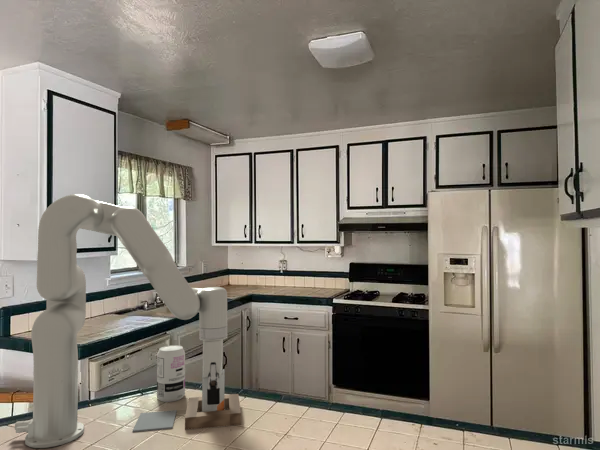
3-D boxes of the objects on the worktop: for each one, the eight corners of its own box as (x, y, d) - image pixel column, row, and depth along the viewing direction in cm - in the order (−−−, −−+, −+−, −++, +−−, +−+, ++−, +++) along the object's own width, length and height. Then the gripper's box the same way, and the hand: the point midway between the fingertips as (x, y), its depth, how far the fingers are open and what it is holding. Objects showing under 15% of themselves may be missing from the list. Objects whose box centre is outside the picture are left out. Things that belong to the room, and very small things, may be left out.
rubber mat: (132, 432, 105) (132, 430, 105) (140, 414, 116) (140, 413, 116) (172, 428, 107) (172, 426, 107) (176, 411, 117) (176, 410, 117)
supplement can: (164, 392, 133) (164, 344, 133) (189, 393, 132) (189, 345, 132) (151, 402, 125) (152, 351, 125) (178, 403, 124) (178, 351, 124)
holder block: (184, 429, 106) (184, 417, 106) (188, 408, 120) (188, 397, 120) (240, 424, 108) (240, 412, 109) (238, 404, 122) (238, 393, 122)
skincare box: (216, 421, 111) (216, 375, 111) (201, 420, 111) (201, 374, 112) (225, 412, 117) (225, 368, 117) (210, 411, 117) (210, 367, 118)
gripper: (200, 327, 123) (200, 389, 122) (197, 340, 106) (197, 412, 105) (226, 326, 124) (227, 387, 123) (227, 339, 107) (228, 410, 106)
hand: (213, 398), depth 114 cm, fingers closed on skincare box, 7 cm apart
